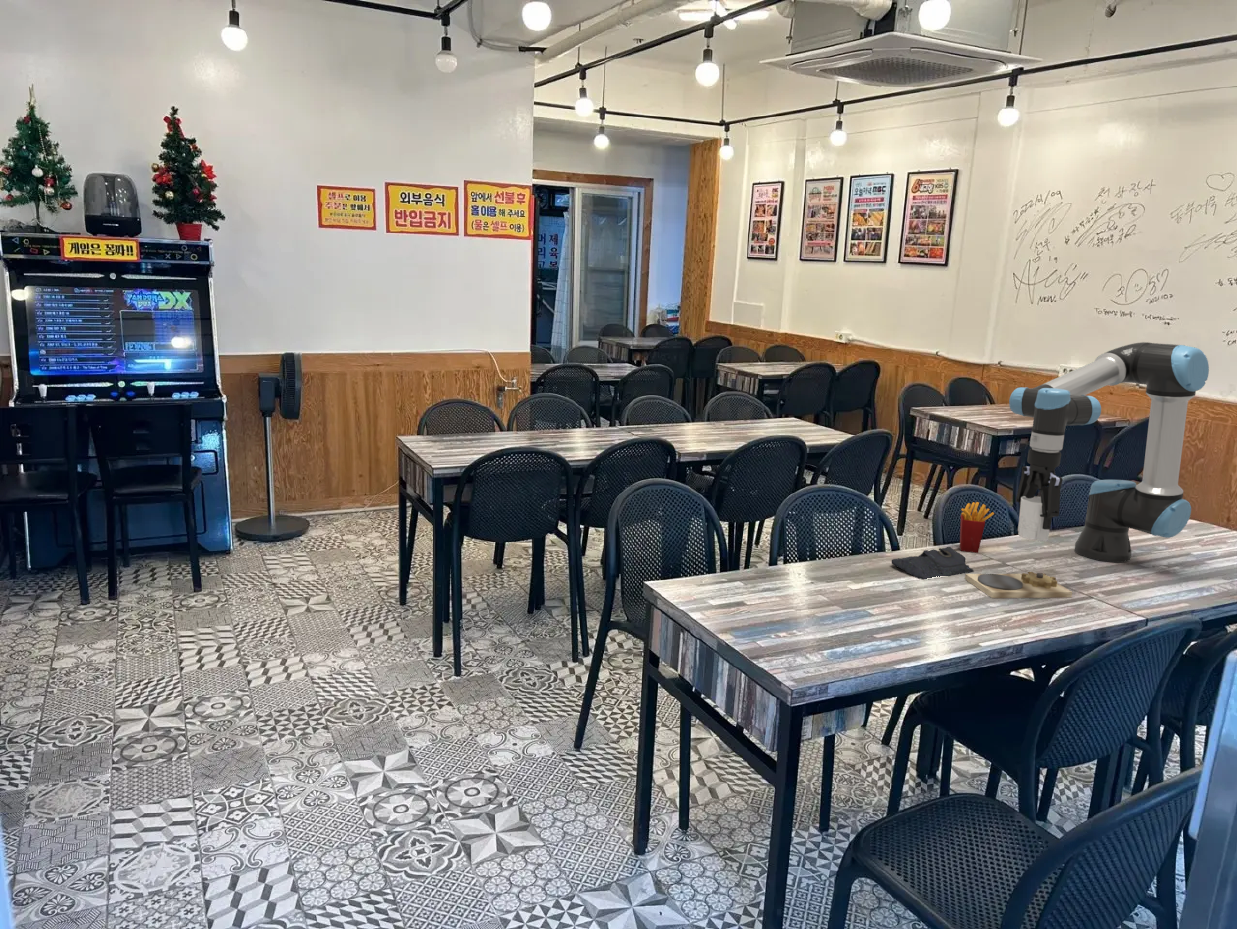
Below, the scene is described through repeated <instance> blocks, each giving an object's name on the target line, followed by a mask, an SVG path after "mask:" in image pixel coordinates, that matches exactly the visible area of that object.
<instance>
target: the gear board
mask: <svg viewBox="0 0 1237 929" xmlns="http://www.w3.org/2000/svg"><path fill="white" fill-rule="evenodd" d="M965 579H966V580H965ZM964 580H965V581H967V582H968V583H969V584H971V585H973V586H974V588H977V589H978V590H980V591H981V592H983V593H984V594H985V595H987V596H988V597H990V599H991V598H992V599H1017V598H1018V599H1026V598H1027V599H1028V598H1029V599H1037V598H1039V599H1042V598H1045V599H1046V598H1047V599H1050V598H1052V599H1053V598H1055V599H1056V598H1057V599H1058V598H1059V599H1060V598H1069V599H1070V598H1072V596H1073V591H1072V590H1070V589H1068V588H1066V587H1065V586H1063V585H1062V584H1060V583H1058V580H1056V577H1055V576H1050V575H1047V574H1046V573H1045V572H1043V573H1042V572H1036V573H1035V572H1033V571H1028V572H1027V573H1025V572H1022V573H965V575H964Z"/></svg>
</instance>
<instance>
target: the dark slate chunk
mask: <svg viewBox="0 0 1237 929" xmlns="http://www.w3.org/2000/svg"><path fill="white" fill-rule="evenodd" d="M891 564H892V565H893V566H894V567H897V568H898V569H901V570H902V571H905V572H906V573H907V574H909V575H911V576H912V577H914V576H915V578H916V577H918V578H917V579H919V578H922V579H921V580H923V579H927V578H932V577H936V576H937V577H938V576H939V577H940V576H948V577H952V576H959V575H964V574H972V573H974V569H973V568H971V567H970V565H968V564H966V556H964V555H963V554H961V553H960V552H958V551H957V550H955V549H954V548H952V547H951V546H946V547H942V548H940V547H939V549H938V550H936V549H935V548H934V549H931V550H928V549H927V550H926V549H925V550H923V552H922V553H921V554H919V555H915V556H912V555H911V556H905V557H901V558H893V559H891Z"/></svg>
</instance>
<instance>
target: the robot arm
mask: <svg viewBox="0 0 1237 929" xmlns="http://www.w3.org/2000/svg"><path fill="white" fill-rule="evenodd" d="M1209 369H1210V367H1209V360H1208V358H1207V355H1206V354H1205V353H1204V351H1203V350H1202V349H1200V348H1198V347H1193V346H1190V345H1189V346H1188V345H1185V344H1171V343H1170V344H1169V343H1158V342H1157V343H1155V342H1149V341H1148V342H1145V341H1142V342H1133V343H1130V344H1126V345H1122V346H1119V347H1116V348H1113V349H1110V350H1108V351H1106V352H1104V353H1101V354H1100V355H1098V356H1097V357H1096V358H1095V360H1094V361H1092V362H1089V363H1088V364H1085V365H1083V366H1081V367H1079V368H1076V369H1074V370H1072V371H1069V372H1067V373H1065V374H1063V375H1061V376H1058V377H1056V378H1053V379H1051V380H1049V381H1046V382H1045V383H1043V384H1039V385H1038V386H1035V387H1032V388H1029V387H1028V386H1027V387H1026V386H1025V387H1023V386H1022V387H1016V388H1015V389H1014V390H1013V391H1012V392H1011V394H1010V396H1009V405H1008V406H1009V410H1010V411H1011V412H1012V413H1013V414H1014V415H1015V414H1016V415H1019V416H1022V417H1029V418H1033V421H1032V427H1031V436H1030V442H1029V447H1030V448H1029V449H1028V453H1027V459H1026V461H1027V463H1028V464H1029V465H1030V466H1022V467H1021V476H1020V480H1019V485H1018V487H1017V488H1018V489H1017V493H1016V496H1015V502H1016V503H1019V506H1020V505H1021V497H1023V496H1026V498H1033V497H1034V496H1036V493H1037V492H1038V491H1039V493H1040V497H1041V503H1042V514H1041V515H1040V519H1039V525H1038V532H1037V538H1036V540H1035V541H1036V542H1049V535H1050V530H1051V528H1052V526H1051V525H1052V520H1053V518H1055V517H1059V516H1060V507H1061V506H1060V502H1061V490H1062V489H1061V487H1062V483H1063V477H1062V476H1057V475H1056V468H1058V467H1060V464H1061V459H1062V453H1061V451H1062V450H1063V447H1064V440H1065V433H1066V427H1067V426H1086V425H1091V424H1093V423H1095V422H1096V421H1097V420H1099V419H1100V416H1101V414H1102V406H1101V403H1100V401H1099V400H1098V399H1097V398H1096V397H1094V396H1092V395H1088V394H1091V393H1093V392H1095V391H1098V390H1100V389H1102V388H1103V387H1106V386H1117V385H1119V384H1122V383H1130V384H1140V385H1145V386H1146V389H1145V395H1147V396H1148V398H1150V409H1149V418H1148V419H1149V420H1148V427H1147V435H1146V436H1147V437H1146V444H1145V445H1146V446H1145V456H1144V462H1143V463H1144V464H1143V473H1142V481H1140V482H1139V483H1138V484H1137V483H1136V482H1135V481H1132V480H1125V479H1099V480H1098V479H1097V480H1095V481H1093V482H1092V484H1091V486H1090V490H1089V493H1088V502H1087V507H1086V508H1087V509H1086V514H1085V515H1086V516H1085V520H1084V521H1085V522H1084V527H1083V529H1082V530H1081V532H1080V534H1079V536H1078V538H1077V540H1076V541H1075V542H1074V543H1075V544H1074V547H1073V548H1074V552H1075V553H1076V554H1079V555H1080V556H1082V557H1085V558H1089V559H1091V560H1096V561H1102V562H1109V563H1127V562H1130V561H1131V559H1132V554H1133V553H1132V552H1133V551H1132V547H1131V542H1130V536H1129V530H1130V529H1132V530H1135V531H1139V532H1143V533H1145V534H1149V535H1152V536H1154V537H1161V538H1165V539H1169V538H1173V537H1175V536H1177V535H1179V534H1180V533H1181V532H1182V531H1183V530H1184V528H1185V527H1186V526H1187V524H1188V522H1189V520H1190V517H1191V514H1192V506H1191V503H1190V502H1189V501H1188V500H1187V499H1185V498H1183V497H1184V489H1183V488H1182V487H1181V486H1180V485H1179V477H1180V471H1181V470H1180V469H1181V460H1182V453H1183V445H1184V437H1185V429H1186V419H1187V411H1188V404H1189V401H1190V400H1191V399H1193V398H1194V397H1195V396H1196V392H1197V391H1200V390H1202V389H1203V388H1204V386H1205V385H1206V381H1208V378H1209V371H1210V370H1209ZM1019 515H1020V513H1019ZM1017 532H1019V524H1018V526H1017Z"/></svg>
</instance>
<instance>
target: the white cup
mask: <svg viewBox="0 0 1237 929" xmlns="http://www.w3.org/2000/svg"><path fill="white" fill-rule="evenodd" d="M1019 514H1020V515H1019V518H1018V525H1019V531H1017V532H1018V536H1019V537H1021V538H1022V539H1026V540H1031V541H1037V540H1036V538H1037V532H1038V525H1039V519H1040V515H1041V514H1042V503H1041V496H1038V495H1035V496H1034V497H1033V498H1026V496H1023V497H1021V505H1019Z"/></svg>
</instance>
